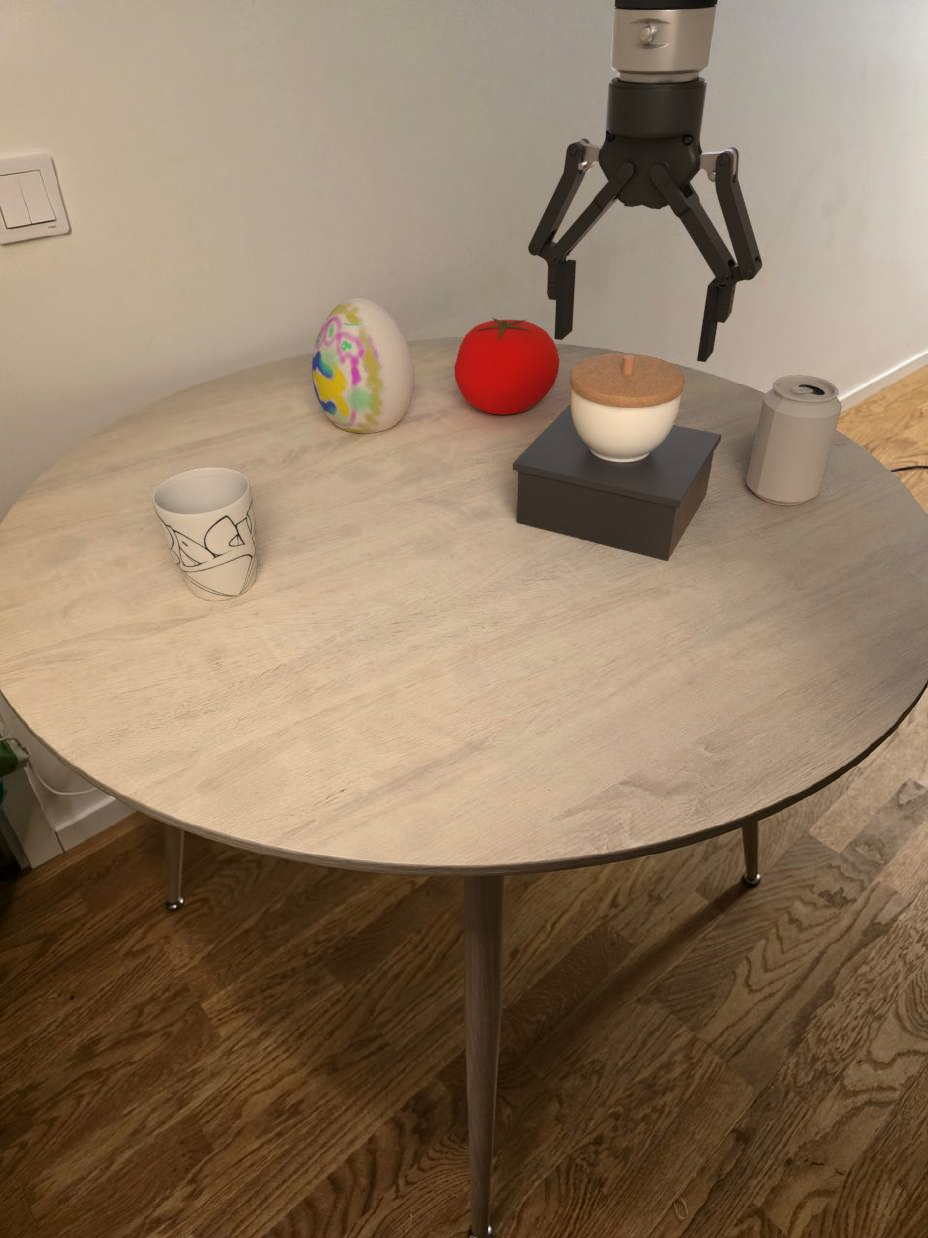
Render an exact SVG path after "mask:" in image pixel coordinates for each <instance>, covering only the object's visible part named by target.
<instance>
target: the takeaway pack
mask: <svg viewBox="0 0 928 1238" xmlns="http://www.w3.org/2000/svg"><path fill="white" fill-rule="evenodd" d="M721 440H722V433H718V432H717V433H716V432H711V431H706V430H702V429H695V428H690V427H686V426H682V425H681V426H680V425H676V424H674V425H673V428H672V430H671V431H670V433H669V434H668V436H667V438H666V439H665V440H664V441H663V442H662V443H661V444H660V445H659V446H658V447H657V448H655V449H654V450H652V451H651V452H650V453H649V455H648V456H647V457H645V458H643V459H641V460H638V461H633V462H612V461H607V460H604V459H601V458H599V457H597V456H595V455H594V454H593V453H592V452H591V451H590V449H589V447H588V446H587V445H586V444H585V443H584V442H583V441H582V439H581V438H580V436H579V435H578V433H577V431H576V429H575V426H574V423H573V419H572V414H571V404H568V406H567V407H565V408H564V409H563V411H562V412H561V413H560V414H559V415H558V416H557V417H556V418H554V420H553V421H552V422H551V423H550V424H549V425H548V426H547V427H546V428H545V429H544V430H543V431H542V432H541V433H540V435H539V436H538V437H537V438H535V439H534V441H533V442H532V443H531V444H530V445H528V447H527V448H526V449H525V450H524V451H523V452H522V453H521V454H520V455H519V456H518V457H517V459H515V460H514V462H513V463H512V470H513V471H515V472H517V497H516V499H517V501H516V523H517V524H520V525H526V526H528V527H532V528H536V529H540V530H544V531H549V532H552V533H556V534H559V535H563V536H564V535H565V536H568V537H572V538H576V539H579V540H583V541H587V542H591V543H595V544H600V545H603V546H607V547H612V548H615V549H620V550H623V551H626V552H631V553H635V554H639V555H643V556H647V557H651V558H654V559H658V560H662V561H666V562H668V561H669V559H670V558H671V556H672V555H673V553H674V551H675V550H676V548H677V545H678V544H679V542H680V540H681V539H682V537H683V535H684V533H685V532H686V530H687V528H688V527H689V525H690V523H691V522H692V520H693V518H694V517H695V514H696V512H697V511H698V510H699V508H700V507H701V504H702V502H703V501H704V499H705V497H706V496H707V493H708V487H709V481H710V476H711V470H712V465H713V460H714V454H715V450H716V449H717V448H718V447H719V445H720V443H721Z"/></svg>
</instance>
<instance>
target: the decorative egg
mask: <svg viewBox="0 0 928 1238" xmlns="http://www.w3.org/2000/svg"><path fill="white" fill-rule="evenodd" d="M311 365H312V366H311V373H312V383H313V388H314V393H315V396H316V398H317V401H318V403H319V405H320V407H321V409H322V411H323V412H324V414H325V415H326V416H327V418H328V419H329V420H330V421H331V422H332V423H333V424H334V425H335V426H336V427H338V428H339V429H341V430H343V431H345V432H348V433H353V434H364V435H365V434H375V433H379V432H384V431H387V430H389V429H392V428H393V427H395V426H396V425H397V424H398V423H399V422H400V421H401V420H402V418H403V417H404V416H405V414H406V412H407V411H408V409H409V406H410V404H411V400H412V399H413V398H412V397H413V392H414V388H415V387H414V385H415V372H414V371H415V370H414V369H415V368H414V364H413V358H412V354H411V350H410V347H409V344H408V342H407V339H406V337H405V336H404V334H403V331H402V330H401V328H400V326H399V325H398V324H397V322H396V321H395V319H394V318H393V317H392V316H391V315H390V313H388V312H387V311H386V309H384V308H383V307H382V306H381V305H380V304H378V303H377V302H375V301H373V300H371V299H368V298H365V297H358V296H357V297H351V298H350V297H349V298H348V299H345V300H343V301H342V302H340V303H339V304H337V305H336V306H335V307H334V308H333V309H332V310H331V311H330V313H329V314H328V315H327V316H326V318H325V320H324V322H323V323H322V325H321V327H320V329H319V331H318V333H317V337H316V340H315V344H314V348H313V353H312V361H311Z"/></svg>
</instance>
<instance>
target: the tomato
mask: <svg viewBox="0 0 928 1238" xmlns="http://www.w3.org/2000/svg"><path fill="white" fill-rule="evenodd" d="M491 319H492V320H489V321H484V322H482V323H479V324H477V325H475V326H473V328H471V329H470V330H469V331H468V332H467V333H466V334H465V335H464V337H463V339H462V341H461V343H460V345H459V349H458V352H457V355H456V360H455V363H454V379H455V383H456V385H457V388H458V389H459V391H460V393H461V395H462V397H463V398H464V399H465V400H466V401H467V402H468V403H469V404H470V405H471V406H472V407H475V408H476V409H477V410H479V411H481V412H484V413H487V414H490V415H491V414H492V415H515V414H519V413H522V412H524V411H528V409H530V408H532V407H533V406H536V405H537V404H538V403H539V402H540V401H541V400H542V399H544V398H545V397H546V396H547V394H548V393H549V392H550V391H551V390H552V388H553V386H554V385H555V383H556V381H557V377H558V375H559V368H560V357H559V351H558V348H557V346H556V343H555V341H554V339H553V338H552V337H551V335H550V334H549V333H548V332H547V330H545V329H544V328H542V327H541V326H539V325H537V324H535V323H534V322H530V321H528V320H526V319H521V320H520V319H498V318H497V319H496V318H495V317H491Z"/></svg>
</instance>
